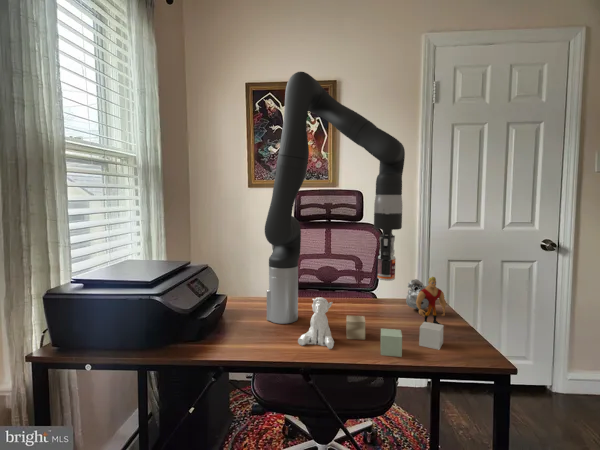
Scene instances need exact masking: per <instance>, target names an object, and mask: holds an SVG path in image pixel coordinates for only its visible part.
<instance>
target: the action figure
mask: <svg viewBox="0 0 600 450" xmlns="http://www.w3.org/2000/svg"><path fill="white" fill-rule="evenodd" d="M427 283H428V285H426V286H427V287H426V288H425V289H423V290H421V291H420V292H419V294H418V296H417V300H416V305H417V307H418V309H419V310H418V314H419V316H421V317H422V318H424V321H423V322H428V318H429V317H430V314H431V312H432V317H433V321H432V323H435V324H440V325H442V324H441V323H440V322H438V320H437V318H438V315H437V311H436V309H437V308H436V302H437V300H438V303H439V304H440V306H441V308H442V314H441V317H445V316H446V306H447V305H446V304H447V302H446V299H445V294H444V291H442V290H441V289H440V288H439V287H437V279H436V277H435V276H431V277H429V278H428V282H427ZM423 299H427V300H428V302H429V304H428V307H427V312H426V311H425V309H421V303H422V301H423Z"/></svg>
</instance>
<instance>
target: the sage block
mask: <svg viewBox="0 0 600 450" xmlns="http://www.w3.org/2000/svg"><path fill="white" fill-rule="evenodd" d="M380 356H387V357H399V358H403V357H402V356H403V333H402V330H401V329H394V328H393V329H392V328H381V327H380Z"/></svg>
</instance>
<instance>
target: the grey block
mask: <svg viewBox="0 0 600 450" xmlns="http://www.w3.org/2000/svg"><path fill="white" fill-rule="evenodd" d="M440 324H441V323H440ZM440 324H436V323H433V322H429V321H427V322H424V321H423V322H422V324H420V326H419V341H418V346H419V347H424V348H429V349H434V350H437V351H438V350H439V351H440V349H441V347H442V345H444V326H445V325H444V324H441V325H440Z"/></svg>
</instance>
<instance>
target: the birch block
mask: <svg viewBox="0 0 600 450" xmlns="http://www.w3.org/2000/svg"><path fill="white" fill-rule="evenodd" d="M345 325H346V327H345V328H346V329H345V331H346V334H345V335H346V340H361V341H362V340H366V318H365V315H346V324H345Z"/></svg>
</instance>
